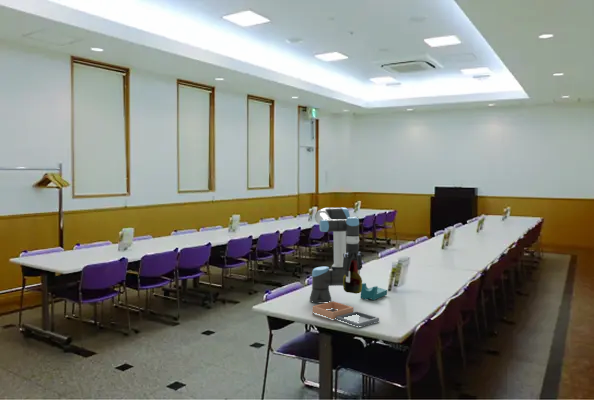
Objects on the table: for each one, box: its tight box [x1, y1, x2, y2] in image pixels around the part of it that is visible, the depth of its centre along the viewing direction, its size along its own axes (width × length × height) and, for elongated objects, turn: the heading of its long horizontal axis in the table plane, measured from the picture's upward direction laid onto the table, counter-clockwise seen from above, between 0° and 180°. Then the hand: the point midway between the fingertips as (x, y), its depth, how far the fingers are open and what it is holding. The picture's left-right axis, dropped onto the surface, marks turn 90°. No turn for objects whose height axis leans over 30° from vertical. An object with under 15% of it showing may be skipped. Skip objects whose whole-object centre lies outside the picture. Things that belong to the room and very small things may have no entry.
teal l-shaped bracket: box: [360, 282, 388, 301], centre depth 339 cm, size 18×11×10 cm, turn 140°
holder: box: [312, 300, 354, 319], centre depth 297 cm, size 18×18×5 cm
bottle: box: [342, 259, 363, 295], centre depth 285 cm, size 12×6×20 cm, turn 54°
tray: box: [336, 310, 380, 327], centre depth 284 cm, size 18×18×2 cm
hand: (352, 281), depth 285 cm, fingers closed on bottle, 7 cm apart
